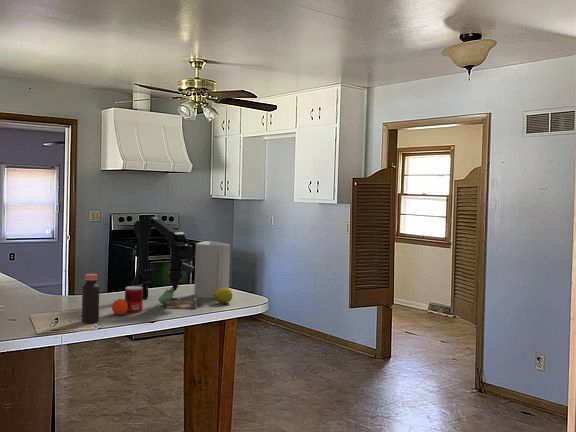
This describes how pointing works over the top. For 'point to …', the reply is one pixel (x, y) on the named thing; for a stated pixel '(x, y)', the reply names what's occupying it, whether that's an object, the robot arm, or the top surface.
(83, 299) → the vinegar
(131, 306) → the canned food
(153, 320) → the top surface
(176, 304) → the cradle
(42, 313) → the top surface
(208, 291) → the paper bag
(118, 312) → the clementine
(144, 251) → the robot arm
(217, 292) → the lemon
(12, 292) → the top surface
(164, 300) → the bottle
